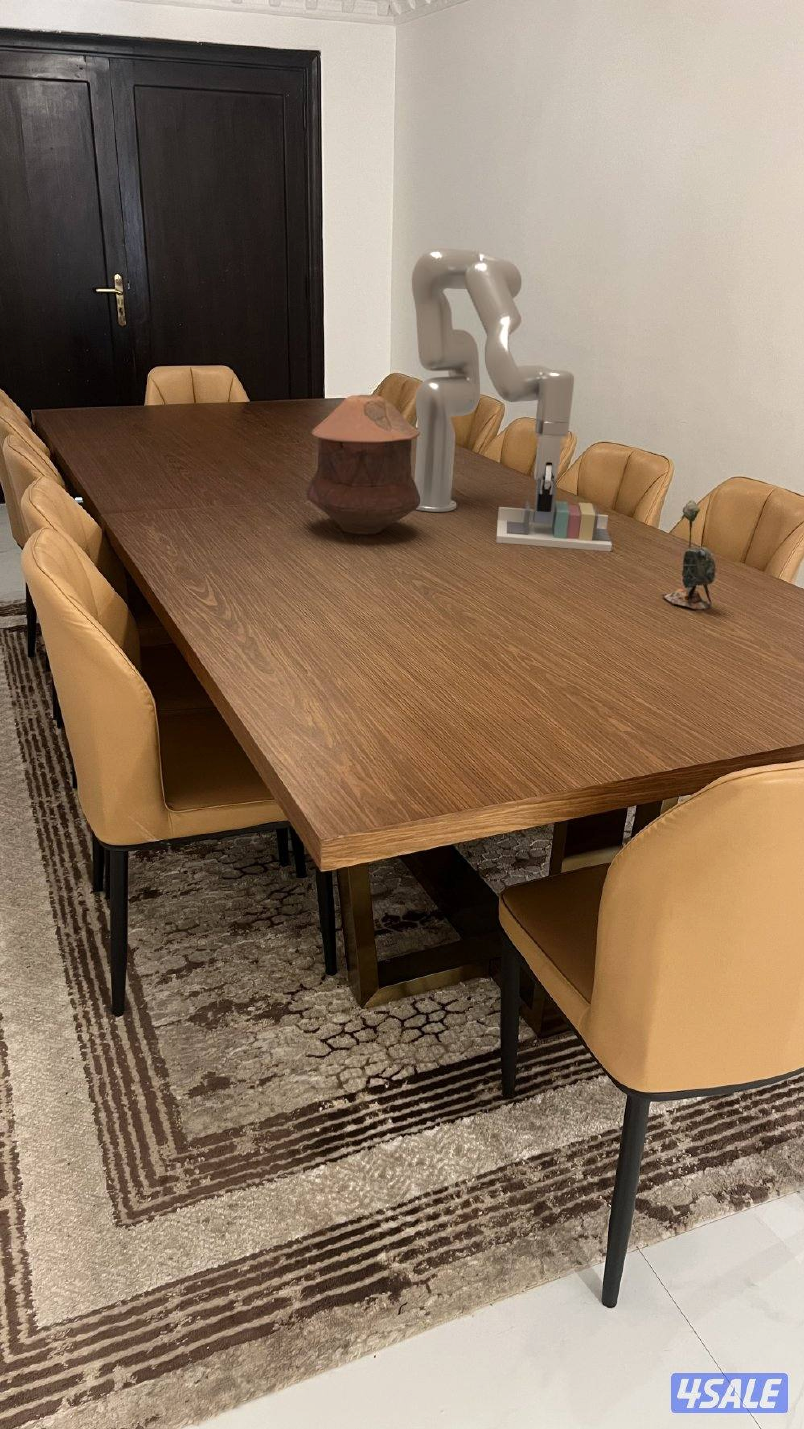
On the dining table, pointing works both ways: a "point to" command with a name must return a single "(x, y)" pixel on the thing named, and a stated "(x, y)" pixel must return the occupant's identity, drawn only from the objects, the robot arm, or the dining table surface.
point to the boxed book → (543, 516)
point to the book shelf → (544, 532)
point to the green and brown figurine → (694, 570)
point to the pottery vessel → (364, 465)
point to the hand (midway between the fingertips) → (543, 507)
